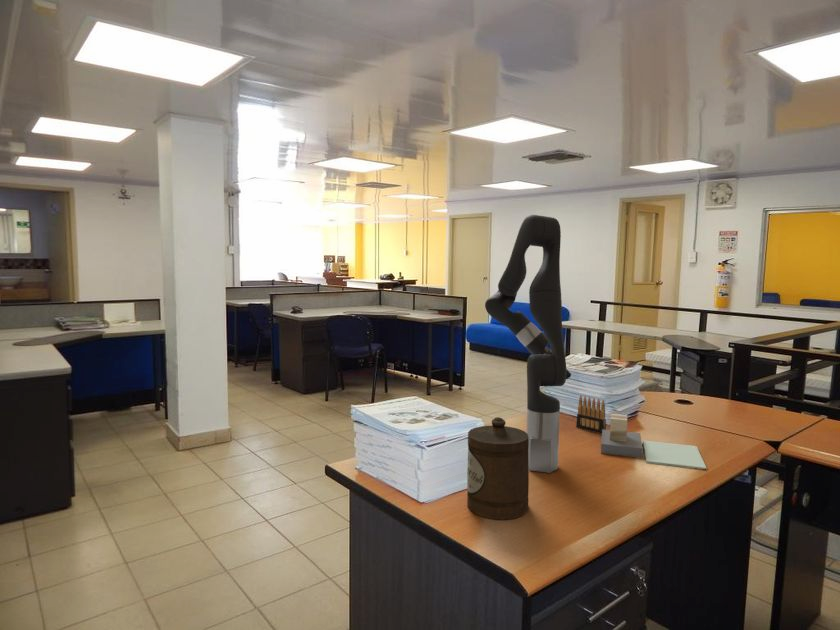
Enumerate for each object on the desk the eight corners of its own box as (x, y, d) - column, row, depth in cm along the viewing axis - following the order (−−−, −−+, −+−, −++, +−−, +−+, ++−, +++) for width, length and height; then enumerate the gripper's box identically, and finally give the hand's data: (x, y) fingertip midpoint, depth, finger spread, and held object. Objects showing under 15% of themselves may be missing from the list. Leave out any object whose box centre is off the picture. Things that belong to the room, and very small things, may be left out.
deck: (642, 457, 164) (642, 448, 163) (600, 453, 168) (601, 443, 167) (639, 441, 179) (640, 433, 178) (602, 437, 183) (602, 429, 182)
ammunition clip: (576, 427, 195) (577, 394, 194) (578, 426, 196) (579, 394, 195) (603, 434, 187) (604, 400, 186) (605, 432, 188) (607, 399, 187)
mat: (706, 469, 154) (706, 467, 154) (646, 462, 160) (646, 460, 159) (696, 447, 173) (696, 446, 173) (643, 442, 178) (643, 440, 178)
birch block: (626, 441, 170) (627, 420, 169) (609, 439, 171) (610, 418, 171) (626, 436, 175) (626, 415, 175) (609, 434, 177) (610, 413, 176)
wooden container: (467, 492, 139) (468, 409, 137) (525, 494, 137) (527, 411, 135) (466, 518, 124) (467, 426, 122) (531, 522, 122) (533, 428, 120)
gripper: (538, 333, 172) (576, 373, 169) (543, 329, 185) (579, 366, 182) (521, 348, 175) (558, 388, 172) (527, 343, 187) (562, 380, 184)
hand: (569, 377), depth 177 cm, fingers closed
